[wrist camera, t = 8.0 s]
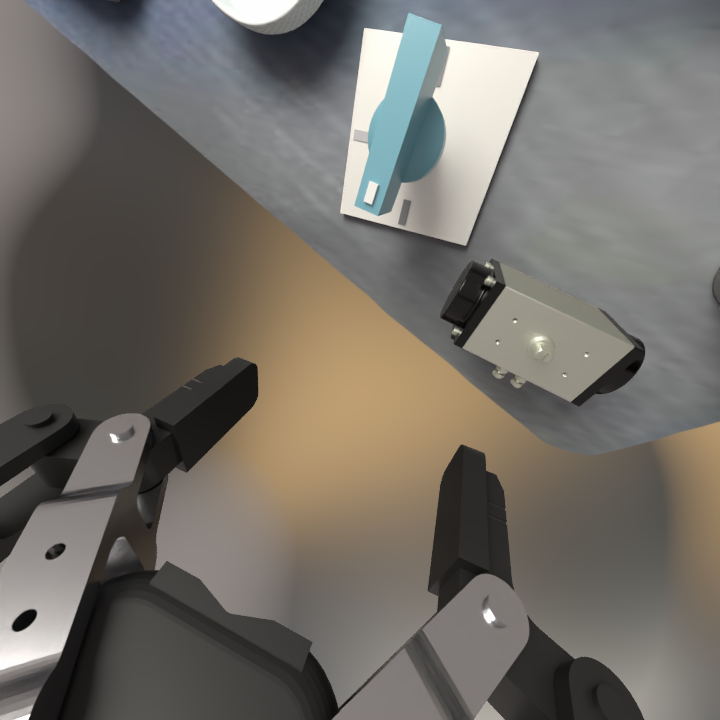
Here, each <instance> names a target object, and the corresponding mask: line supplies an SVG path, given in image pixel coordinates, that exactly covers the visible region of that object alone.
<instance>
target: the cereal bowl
mask: <svg viewBox="0 0 720 720" xmlns="http://www.w3.org/2000/svg"><path fill="white" fill-rule="evenodd" d="M212 1H213V3H214V4H215V5H216V6H217V7H218V8H219V9H220V10H221V11H222V12H223V13H224V14H225V15H227V16H229V17H230V18H231V19H232V20H233V21H235V22H237V23H239V24H240V25H242V26H244V27H246V28H248V29H250V30H252V31H256V32H258V33H263V34H271V35H274V34H282V33H288V32H289V31H293V30H295V29H296V28H298V27H300V26H301V25H302V24H304V23H305V22H306V21H307V20H308V19H309V18H311V16H312V15H313V14H314V13H315V12H316V11H317V10H318V8H319V7H320V5H321V3H322V2H323V1H324V0H212Z"/></svg>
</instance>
